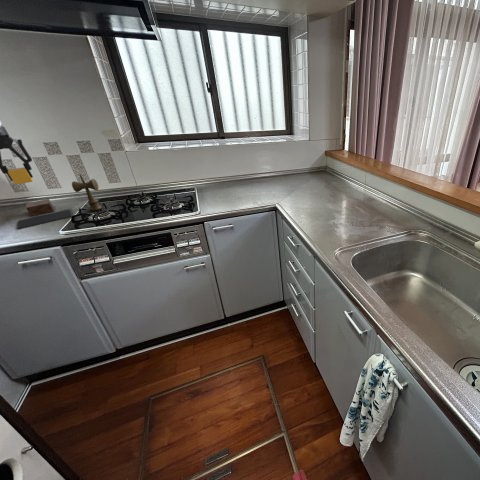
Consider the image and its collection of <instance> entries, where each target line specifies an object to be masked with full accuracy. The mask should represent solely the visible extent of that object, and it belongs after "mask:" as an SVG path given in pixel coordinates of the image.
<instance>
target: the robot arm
mask: <svg viewBox="0 0 480 480" xmlns="http://www.w3.org/2000/svg"><path fill="white" fill-rule="evenodd" d="M3 125H4V124H3V122H2V120H1V119H0V150H4V149H5V150H10V151H11V152H12V153H13V154H14V155H15V156H16V157H17V158H19V159H20V160H21V161H22V162H23V163H22V165H23V167H25V169H26V170H27V172H28V174H29V176H30V177H31V178H32V179H33V178H34V175H33V174H32V172H31V171H32V170H33V169H32V166H31V165H30V163H31V162H32V161H33V159H32V157H31V155H30V154H29V152H28V151H27V149H26V148H25V146H24V144H23V141H22V139H21V138H18V139H17V138H13V137H11V136H10V134H9V132H8V130H7V128H6V127H5V126H3ZM14 143H15V144H16V145H17V146H18V147H19V149H20V150H21V151H22V153H23V154H24V156H25V157H24V156H23V155H22V154H21V153H20V152H19V151H18V150H16V148H15V147H14V146H13V144H14ZM8 170H9V169H8V167H7V166H6V165H3V158H2V154H1V151H0V171H1V172H2V174H4V175H7V176H8V178H9V180H10V181H11V182H13V180H12V178H11V177H10V175H9V174H8Z"/></svg>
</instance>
